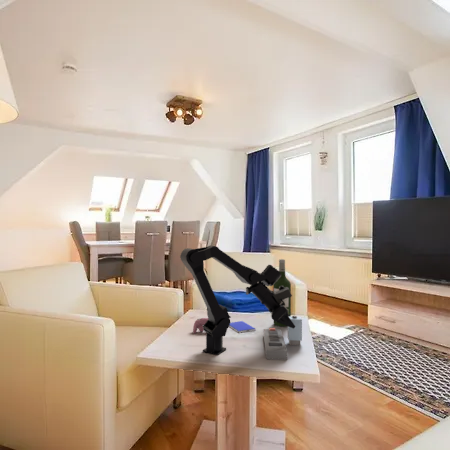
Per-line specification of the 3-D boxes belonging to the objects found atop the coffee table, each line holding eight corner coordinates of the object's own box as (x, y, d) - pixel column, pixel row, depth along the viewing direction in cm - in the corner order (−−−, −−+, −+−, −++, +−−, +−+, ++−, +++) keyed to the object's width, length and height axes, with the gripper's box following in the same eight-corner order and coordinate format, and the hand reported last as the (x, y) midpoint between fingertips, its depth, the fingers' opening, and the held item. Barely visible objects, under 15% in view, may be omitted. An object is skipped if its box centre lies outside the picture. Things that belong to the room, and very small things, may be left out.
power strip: (287, 359, 113) (287, 349, 113) (266, 359, 114) (266, 348, 114) (279, 331, 144) (279, 323, 144) (263, 331, 145) (263, 322, 145)
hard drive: (227, 322, 154) (238, 330, 143) (242, 320, 157) (255, 328, 146) (227, 326, 154) (238, 334, 143) (242, 324, 157) (255, 331, 146)
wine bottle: (273, 326, 152) (273, 260, 152) (273, 321, 160) (273, 258, 160) (291, 327, 151) (291, 260, 151) (290, 322, 158) (290, 258, 159)
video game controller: (216, 335, 144) (217, 319, 147) (215, 333, 140) (216, 316, 143) (193, 335, 145) (195, 318, 148) (191, 333, 141) (193, 316, 144)
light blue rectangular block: (301, 345, 127) (301, 317, 127) (288, 345, 127) (288, 317, 127) (300, 342, 131) (300, 315, 131) (287, 342, 131) (287, 314, 131)
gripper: (281, 284, 120) (312, 315, 119) (277, 276, 139) (304, 304, 138) (259, 305, 121) (289, 337, 120) (258, 295, 139) (284, 322, 138)
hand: (293, 324), depth 129 cm, fingers open, 9 cm apart
